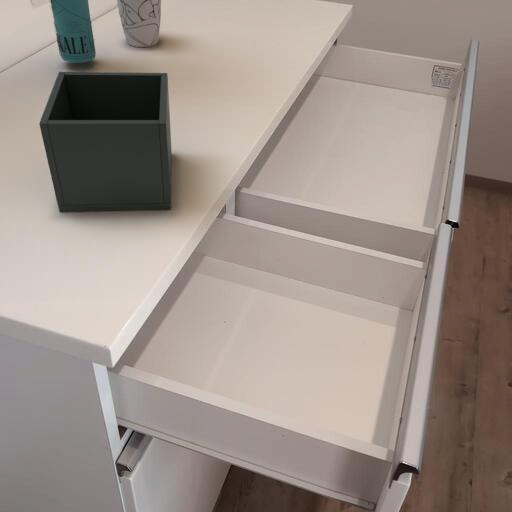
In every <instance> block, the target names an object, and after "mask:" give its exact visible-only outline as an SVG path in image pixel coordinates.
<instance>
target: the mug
mask: <svg viewBox="0 0 512 512" xmlns="http://www.w3.org/2000/svg"><path fill="white" fill-rule="evenodd" d="M116 2H117V8H118V14H119V18H120V22H121V26H122V30H123V33H124V37H125V41H126V42H127V44H128V45H130V46H132V47H134V48H151V47H153V46H155V45H157V44H158V42H159V39H160V38H159V37H160V28H161V18H162V0H116Z"/></svg>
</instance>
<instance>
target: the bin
mask: <svg viewBox="0 0 512 512" xmlns="http://www.w3.org/2000/svg"><path fill="white" fill-rule="evenodd" d="M168 75H169V74H168V72H124V71H123V72H122V71H121V72H120V71H119V72H118V71H116V72H115V71H114V72H113V71H111V72H110V71H105V72H104V71H59V72H58V73H57V75H56V79H55V81H54V84H53V87H52V90H51V92H50V95H49V96H48V100H47V102H46V104H45V107H44V109H43V113H42V115H41V117H40V120H39V129H40V133H41V137H42V142H43V147H44V151H45V155H46V160H47V164H48V169H49V172H50V177H51V183H52V186H53V191H54V195H55V200H56V203H57V207H58V208H57V209H58V211H59V213H65V212H67V213H68V212H70V213H72V212H73V213H74V212H119V211H120V212H123V211H167V210H168V211H169V210H172V160H173V159H172V157H173V156H172V155H173V154H172V152H173V151H172V135H171V133H172V132H171V117H170V116H171V114H170V113H171V112H170V95H169V78H168V77H169V76H168Z"/></svg>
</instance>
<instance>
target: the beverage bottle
mask: <svg viewBox="0 0 512 512" xmlns="http://www.w3.org/2000/svg"><path fill="white" fill-rule="evenodd" d="M49 3H50V9H51V12H52V18H53V26H54V29H55V30H54V32H55V36H56V42H57V46H58V52H59V56H60V57H61V59H62V60H63V61H64V62H67V63H72V64H82V63H87V62H91V61H92V60H94V59H95V58H96V54H97V51H96V46H95V40H96V39H95V37H94V30H93V25H92V24H93V22H92V19H91V11H90V5H89V0H50V1H49Z"/></svg>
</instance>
